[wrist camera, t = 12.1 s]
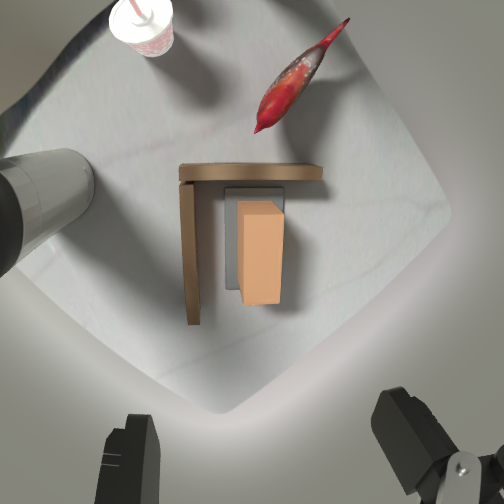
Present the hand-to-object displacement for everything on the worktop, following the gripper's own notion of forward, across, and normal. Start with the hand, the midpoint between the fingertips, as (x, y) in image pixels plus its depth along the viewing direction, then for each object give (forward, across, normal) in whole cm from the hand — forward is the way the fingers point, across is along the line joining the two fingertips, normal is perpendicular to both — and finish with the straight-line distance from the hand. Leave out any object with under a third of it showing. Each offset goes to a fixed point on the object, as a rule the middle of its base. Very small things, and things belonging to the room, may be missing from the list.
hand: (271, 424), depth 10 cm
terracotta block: (+31, -4, +4) cm, 31 cm away
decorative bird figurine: (+31, -8, -16) cm, 36 cm away
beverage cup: (+31, +8, -21) cm, 39 cm away
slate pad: (+31, -4, +4) cm, 31 cm away
